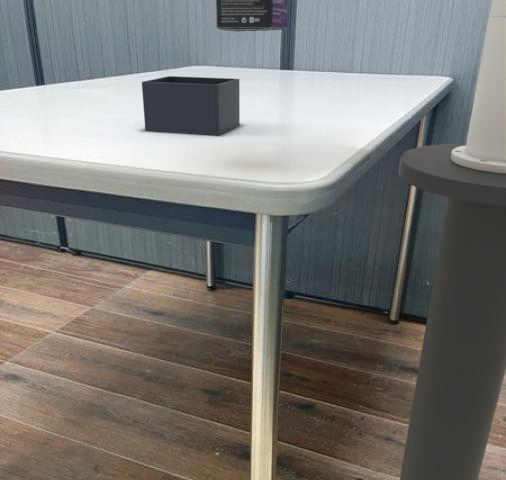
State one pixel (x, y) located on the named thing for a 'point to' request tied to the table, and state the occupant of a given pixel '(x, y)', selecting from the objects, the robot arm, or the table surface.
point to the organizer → (191, 105)
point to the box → (251, 15)
